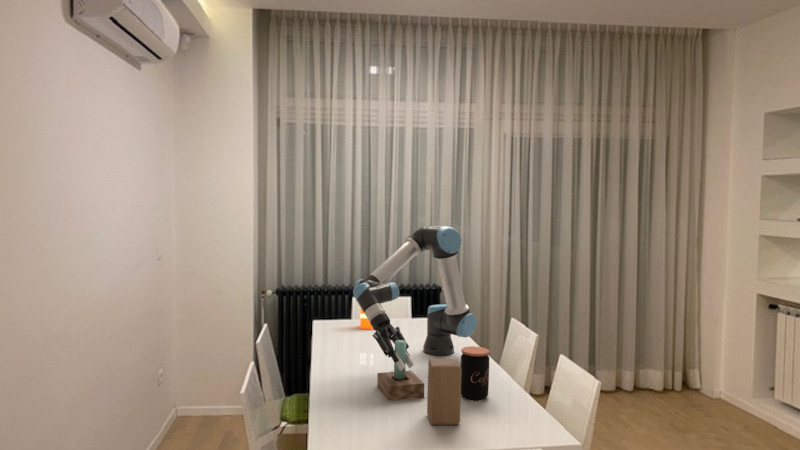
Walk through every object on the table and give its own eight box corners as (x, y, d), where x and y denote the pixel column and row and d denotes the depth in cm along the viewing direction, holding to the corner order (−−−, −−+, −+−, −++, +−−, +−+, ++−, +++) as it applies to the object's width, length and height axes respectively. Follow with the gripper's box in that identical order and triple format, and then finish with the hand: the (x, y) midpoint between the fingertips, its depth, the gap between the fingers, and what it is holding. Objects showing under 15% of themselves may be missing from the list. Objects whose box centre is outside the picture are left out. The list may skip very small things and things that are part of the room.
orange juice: (375, 328, 319) (376, 294, 318) (360, 328, 319) (360, 293, 318) (376, 325, 327) (377, 291, 326) (361, 325, 327) (361, 291, 326)
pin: (403, 375, 218) (404, 339, 218) (406, 378, 214) (407, 342, 214) (392, 375, 217) (393, 340, 216) (395, 379, 213) (396, 343, 212)
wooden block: (426, 414, 194) (428, 357, 194) (455, 414, 195) (456, 357, 194) (430, 426, 185) (432, 366, 184) (460, 425, 185) (462, 366, 184)
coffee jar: (470, 403, 206) (471, 355, 205) (454, 394, 215) (455, 348, 215) (493, 399, 211) (495, 352, 210) (477, 390, 220) (478, 345, 219)
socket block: (410, 383, 226) (410, 370, 226) (424, 397, 211) (424, 383, 210) (377, 386, 222) (377, 373, 221) (388, 400, 206) (388, 386, 206)
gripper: (387, 320, 232) (416, 368, 221) (357, 326, 219) (386, 377, 208) (397, 309, 228) (427, 357, 217) (366, 315, 215) (397, 366, 205)
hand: (407, 367), depth 213 cm, fingers closed on pin, 4 cm apart
